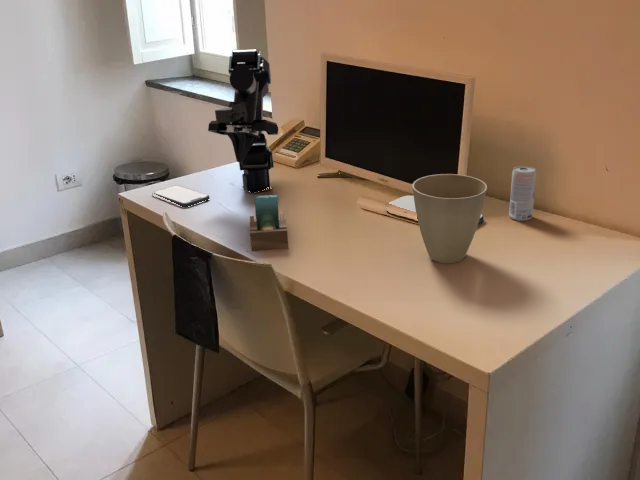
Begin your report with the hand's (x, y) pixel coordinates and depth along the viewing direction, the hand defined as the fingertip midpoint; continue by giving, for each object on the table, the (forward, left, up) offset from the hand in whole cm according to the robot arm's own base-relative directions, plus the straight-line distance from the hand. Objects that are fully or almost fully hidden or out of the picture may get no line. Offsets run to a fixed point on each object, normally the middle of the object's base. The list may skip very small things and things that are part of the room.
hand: (239, 162), depth 170 cm
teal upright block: (+4, +22, -12) cm, 25 cm away
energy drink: (-52, +45, -13) cm, 70 cm away
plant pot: (-23, +52, -13) cm, 58 cm away
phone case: (+10, -18, -13) cm, 25 cm away
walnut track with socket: (+3, +20, -12) cm, 24 cm away
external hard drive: (-36, +32, -13) cm, 50 cm away
